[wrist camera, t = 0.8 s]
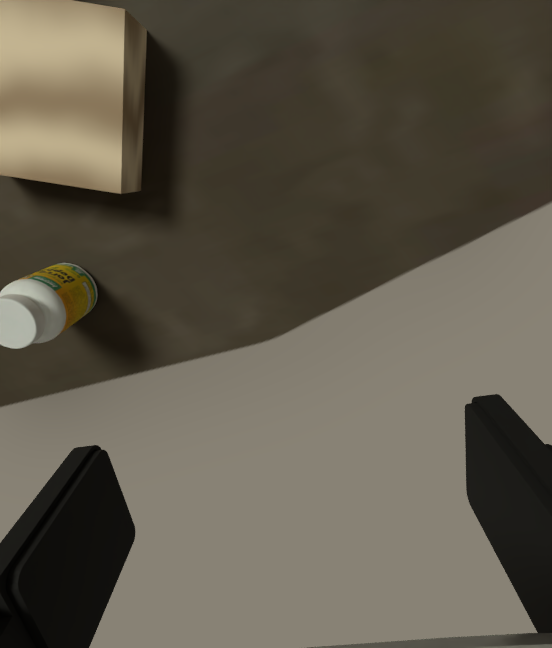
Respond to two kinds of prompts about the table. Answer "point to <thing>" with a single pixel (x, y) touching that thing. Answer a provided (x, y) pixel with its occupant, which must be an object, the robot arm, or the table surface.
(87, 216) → the table surface
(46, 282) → the supplement bottle
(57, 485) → the robot arm
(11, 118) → the birch block
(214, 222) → the table surface
